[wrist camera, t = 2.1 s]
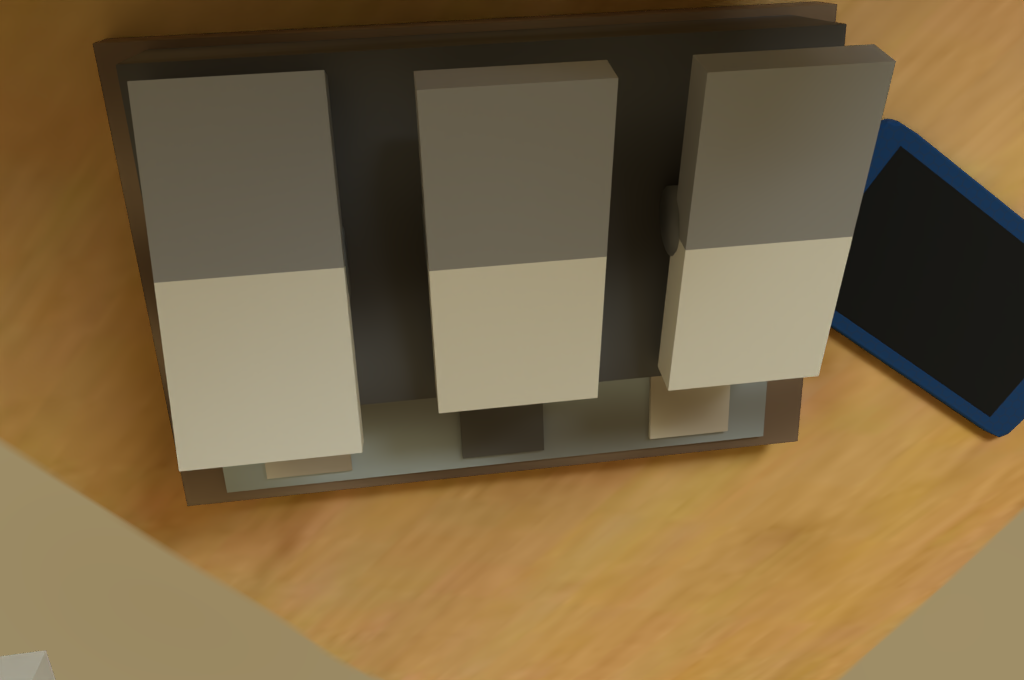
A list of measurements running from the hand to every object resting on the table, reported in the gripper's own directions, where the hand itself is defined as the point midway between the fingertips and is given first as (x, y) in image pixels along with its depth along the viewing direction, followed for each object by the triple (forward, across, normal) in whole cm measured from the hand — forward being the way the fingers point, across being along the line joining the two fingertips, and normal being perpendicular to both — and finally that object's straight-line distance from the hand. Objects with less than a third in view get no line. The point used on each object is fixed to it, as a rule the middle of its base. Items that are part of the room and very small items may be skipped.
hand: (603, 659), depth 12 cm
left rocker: (+17, -6, 0) cm, 18 cm away
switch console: (+23, +1, -2) cm, 23 cm away
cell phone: (+23, +19, -5) cm, 30 cm away
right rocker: (+17, +8, +1) cm, 19 cm away
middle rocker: (+17, +1, +1) cm, 17 cm away
